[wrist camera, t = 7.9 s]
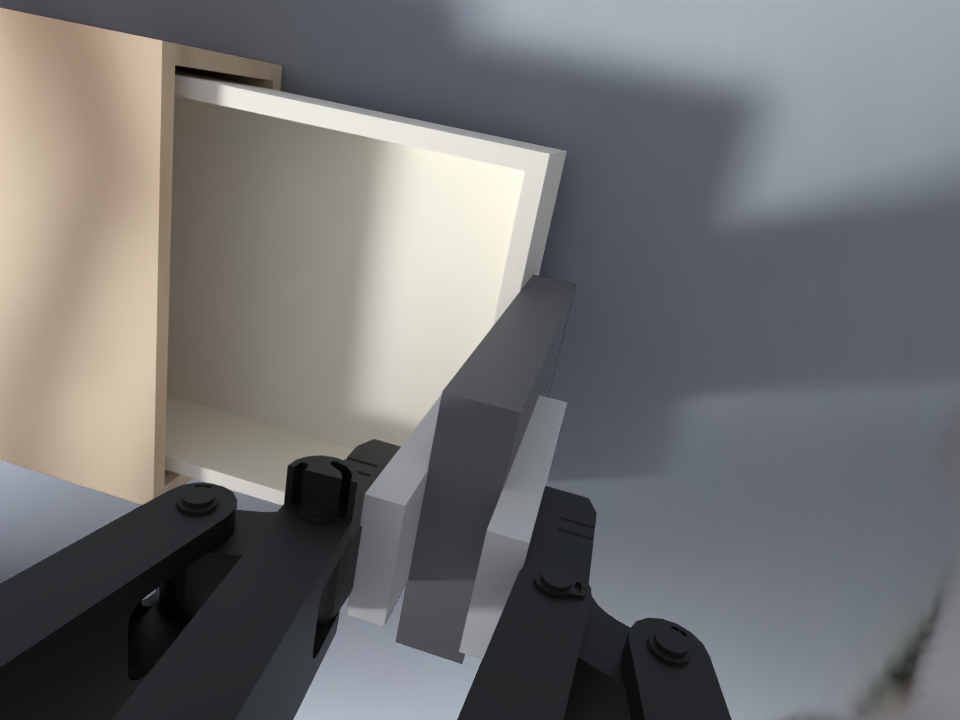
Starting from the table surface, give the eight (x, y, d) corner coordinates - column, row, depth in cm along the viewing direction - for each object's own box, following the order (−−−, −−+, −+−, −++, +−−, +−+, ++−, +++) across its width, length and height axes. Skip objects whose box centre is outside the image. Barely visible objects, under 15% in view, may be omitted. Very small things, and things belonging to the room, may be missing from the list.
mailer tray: (80, 374, 31) (-294, 533, 19) (73, 47, 26) (-444, -36, 14) (523, 503, 28) (430, 796, 16) (609, 159, 23) (573, 184, 11)
